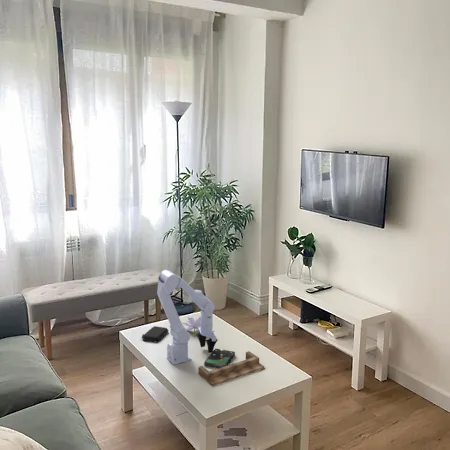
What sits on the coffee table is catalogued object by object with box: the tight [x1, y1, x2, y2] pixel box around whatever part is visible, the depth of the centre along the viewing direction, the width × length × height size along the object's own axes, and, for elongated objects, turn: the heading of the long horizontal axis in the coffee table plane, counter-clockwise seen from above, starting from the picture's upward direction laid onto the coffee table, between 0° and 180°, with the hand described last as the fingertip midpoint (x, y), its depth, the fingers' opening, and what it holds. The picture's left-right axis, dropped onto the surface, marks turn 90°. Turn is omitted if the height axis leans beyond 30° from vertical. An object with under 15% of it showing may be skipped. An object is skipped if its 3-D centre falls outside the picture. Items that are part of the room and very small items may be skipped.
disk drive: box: [203, 348, 236, 369], centre depth 221 cm, size 10×3×15 cm
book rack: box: [197, 350, 265, 387], centre depth 211 cm, size 28×12×4 cm, turn 123°
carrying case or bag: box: [141, 325, 169, 343], centre depth 247 cm, size 11×3×15 cm
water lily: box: [182, 316, 201, 337], centre depth 249 cm, size 15×15×9 cm
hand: (206, 349), depth 229 cm, fingers open, 7 cm apart
